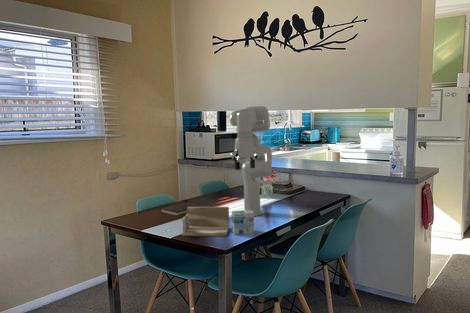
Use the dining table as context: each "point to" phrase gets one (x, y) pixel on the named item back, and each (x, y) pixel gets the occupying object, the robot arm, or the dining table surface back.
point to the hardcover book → (180, 208)
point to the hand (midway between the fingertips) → (245, 168)
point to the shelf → (206, 221)
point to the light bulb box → (243, 222)
